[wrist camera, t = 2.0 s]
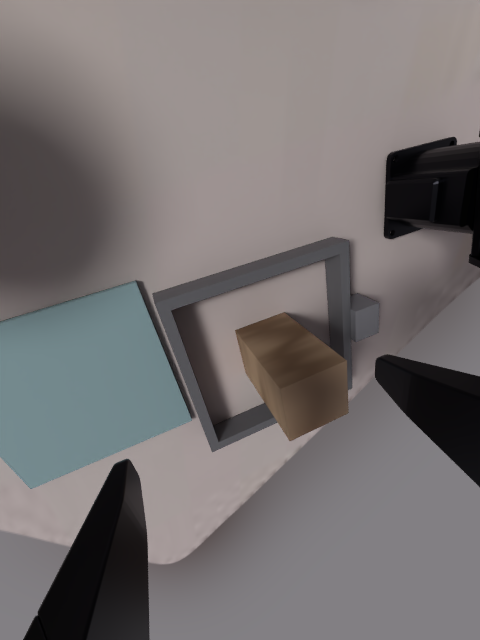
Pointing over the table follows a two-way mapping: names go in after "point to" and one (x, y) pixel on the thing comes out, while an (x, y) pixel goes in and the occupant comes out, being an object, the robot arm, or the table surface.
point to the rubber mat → (83, 384)
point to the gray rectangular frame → (344, 310)
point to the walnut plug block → (294, 374)
